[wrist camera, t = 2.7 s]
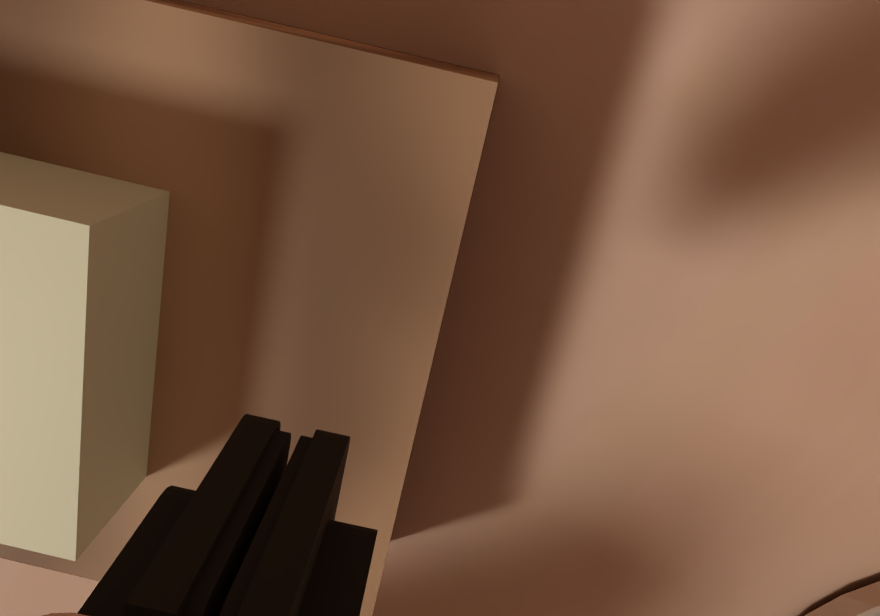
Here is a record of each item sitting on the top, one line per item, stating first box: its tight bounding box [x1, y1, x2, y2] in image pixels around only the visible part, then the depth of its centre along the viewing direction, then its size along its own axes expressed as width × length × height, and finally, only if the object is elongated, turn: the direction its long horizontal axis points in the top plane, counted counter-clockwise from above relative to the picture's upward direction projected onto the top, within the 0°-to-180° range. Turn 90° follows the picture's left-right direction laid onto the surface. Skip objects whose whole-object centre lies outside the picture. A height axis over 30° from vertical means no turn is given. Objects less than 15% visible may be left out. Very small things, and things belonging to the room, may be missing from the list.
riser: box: [0, 0, 499, 616], centre depth 18 cm, size 18×14×4 cm
